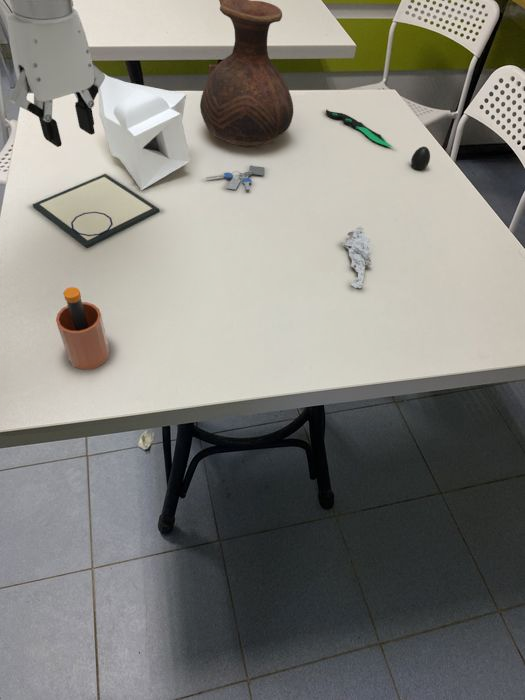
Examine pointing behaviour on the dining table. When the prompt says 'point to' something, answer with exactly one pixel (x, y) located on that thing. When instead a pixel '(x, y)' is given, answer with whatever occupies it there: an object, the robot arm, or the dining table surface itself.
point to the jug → (247, 81)
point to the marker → (76, 308)
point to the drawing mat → (95, 209)
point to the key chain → (235, 182)
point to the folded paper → (144, 128)
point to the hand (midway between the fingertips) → (70, 135)
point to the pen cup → (84, 338)
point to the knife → (358, 127)
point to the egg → (420, 158)
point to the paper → (358, 254)
